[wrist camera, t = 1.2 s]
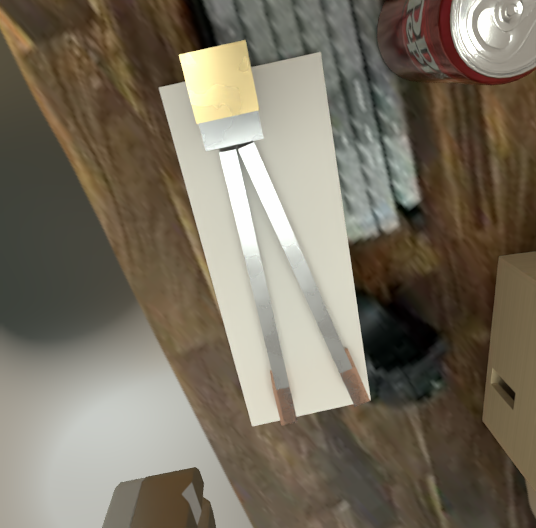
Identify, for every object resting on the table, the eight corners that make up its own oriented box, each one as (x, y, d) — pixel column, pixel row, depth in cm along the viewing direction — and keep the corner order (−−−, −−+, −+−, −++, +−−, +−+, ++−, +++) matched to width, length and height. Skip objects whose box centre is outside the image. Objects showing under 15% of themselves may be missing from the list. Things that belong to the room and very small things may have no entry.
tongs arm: (237, 143, 35) (238, 149, 33) (255, 135, 35) (257, 140, 32) (346, 386, 45) (354, 406, 42) (361, 380, 45) (370, 400, 42)
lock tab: (181, 55, 29) (178, 54, 27) (244, 41, 29) (245, 39, 27) (198, 121, 31) (196, 124, 29) (257, 108, 31) (259, 110, 29)
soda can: (411, 102, 37) (491, 114, 26) (354, 25, 34) (416, 3, 23) (487, 33, 35) (606, 14, 24) (433, -52, 33) (539, -115, 22)
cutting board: (160, 87, 35) (158, 87, 34) (317, 52, 35) (320, 51, 34) (251, 418, 47) (252, 426, 46) (367, 392, 47) (370, 400, 46)
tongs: (194, 87, 34) (190, 89, 30) (247, 75, 34) (251, 75, 30) (273, 405, 45) (277, 437, 41) (313, 396, 45) (321, 427, 41)
